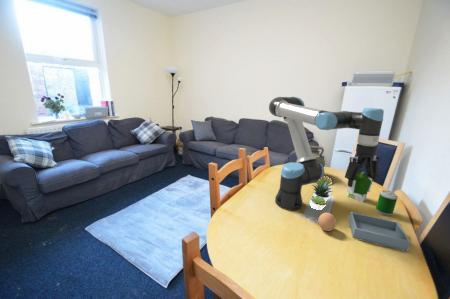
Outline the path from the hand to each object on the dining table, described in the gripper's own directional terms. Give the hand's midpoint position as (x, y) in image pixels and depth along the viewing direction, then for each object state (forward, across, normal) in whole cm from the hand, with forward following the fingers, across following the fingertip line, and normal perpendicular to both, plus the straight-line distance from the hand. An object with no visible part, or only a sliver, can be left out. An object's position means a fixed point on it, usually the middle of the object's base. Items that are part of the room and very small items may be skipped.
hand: (358, 191), depth 96 cm
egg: (+19, -14, +1) cm, 23 cm away
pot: (+16, +18, +61) cm, 66 cm away
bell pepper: (+1, 0, 0) cm, 1 cm away
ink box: (+18, +26, +23) cm, 39 cm away
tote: (+19, +6, -7) cm, 21 cm away
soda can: (+19, +28, +7) cm, 34 cm away
